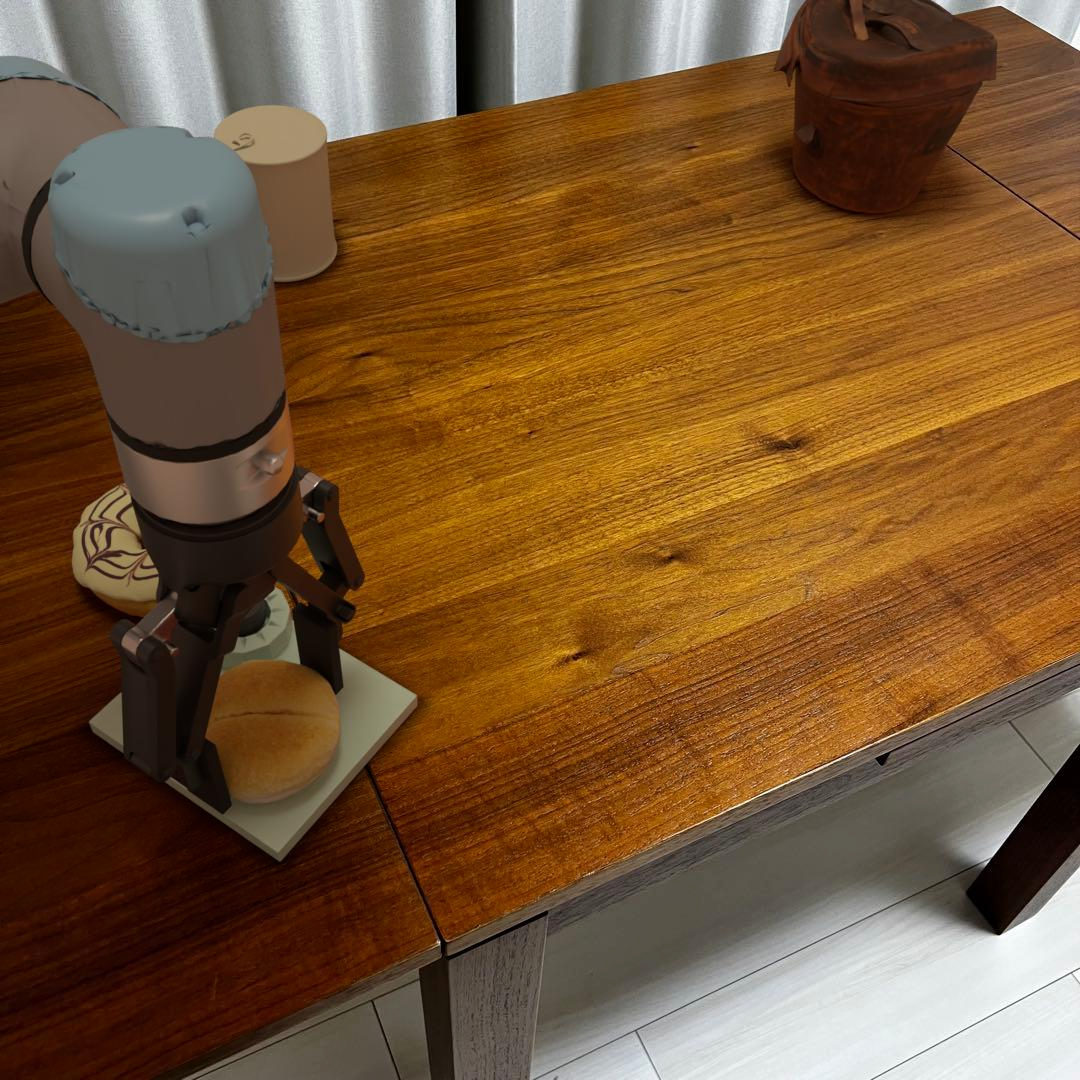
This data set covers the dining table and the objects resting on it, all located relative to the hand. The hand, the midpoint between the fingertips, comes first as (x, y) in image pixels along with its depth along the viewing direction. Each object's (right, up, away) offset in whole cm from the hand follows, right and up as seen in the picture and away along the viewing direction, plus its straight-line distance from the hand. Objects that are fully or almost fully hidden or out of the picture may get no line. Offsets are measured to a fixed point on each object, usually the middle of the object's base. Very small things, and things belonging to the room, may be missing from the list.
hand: (268, 736), depth 71 cm
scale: (-1, +1, +3) cm, 4 cm away
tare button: (-3, +7, +5) cm, 9 cm away
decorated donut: (-10, +10, +11) cm, 18 cm away
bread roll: (0, 0, 0) cm, 1 cm away
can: (-7, +37, +35) cm, 52 cm away
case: (+48, +48, +49) cm, 84 cm away
